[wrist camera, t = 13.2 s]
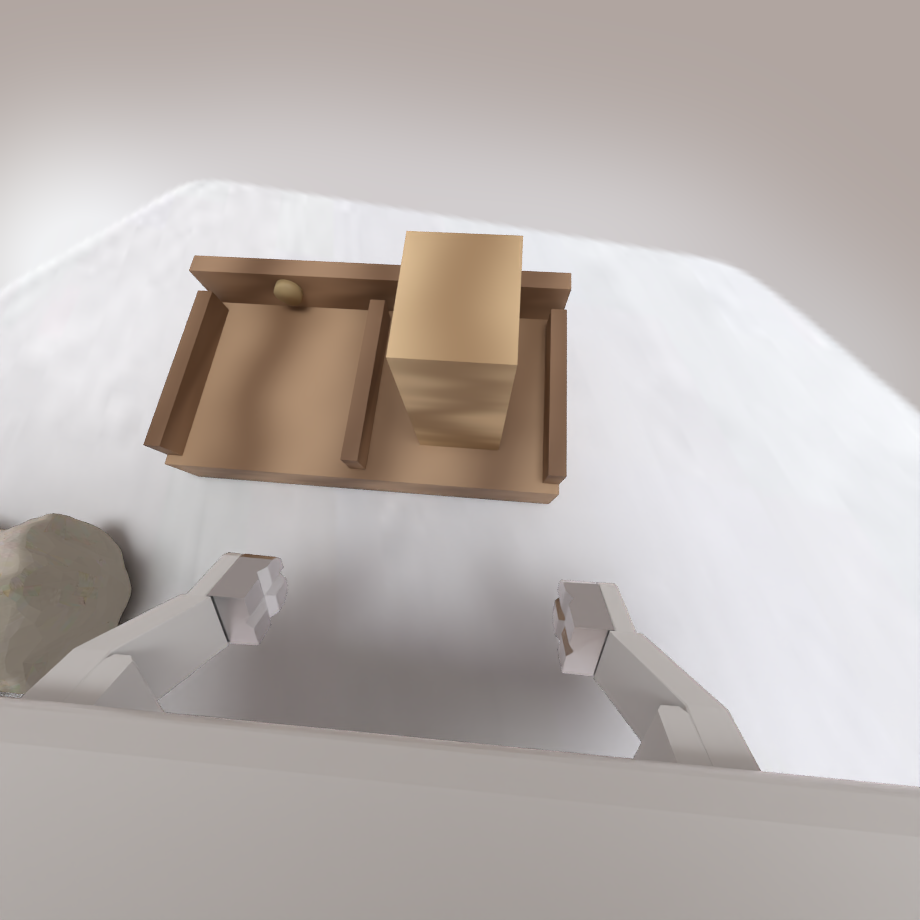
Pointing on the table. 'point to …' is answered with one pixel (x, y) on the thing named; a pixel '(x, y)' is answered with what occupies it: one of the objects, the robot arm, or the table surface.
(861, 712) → the table surface
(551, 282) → the wooden divided tray
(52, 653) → the ceramic sculpture
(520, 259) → the wooden block
